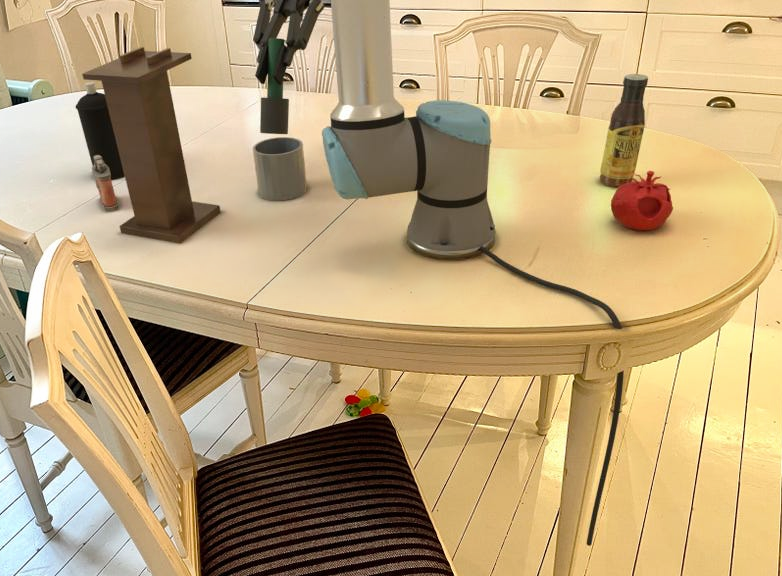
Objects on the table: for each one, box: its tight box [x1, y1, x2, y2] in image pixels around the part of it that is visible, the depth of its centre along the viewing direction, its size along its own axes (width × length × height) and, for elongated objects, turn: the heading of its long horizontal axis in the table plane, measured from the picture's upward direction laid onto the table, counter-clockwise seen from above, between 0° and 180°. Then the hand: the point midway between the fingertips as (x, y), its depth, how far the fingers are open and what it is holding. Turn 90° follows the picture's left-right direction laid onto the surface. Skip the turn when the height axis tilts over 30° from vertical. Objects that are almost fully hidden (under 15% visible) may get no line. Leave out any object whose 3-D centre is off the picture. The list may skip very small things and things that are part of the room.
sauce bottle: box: [599, 73, 649, 188], centre depth 138 cm, size 6×6×20 cm
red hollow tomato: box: [610, 170, 674, 231], centre depth 127 cm, size 10×10×9 cm
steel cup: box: [252, 136, 308, 202], centre depth 150 cm, size 10×10×10 cm
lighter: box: [91, 155, 119, 212], centre depth 152 cm, size 8×3×10 cm, turn 22°
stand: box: [81, 46, 222, 244], centre depth 136 cm, size 15×14×31 cm
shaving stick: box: [259, 37, 290, 135], centre depth 141 cm, size 17×5×5 cm
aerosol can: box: [74, 81, 125, 181], centre depth 163 cm, size 8×8×20 cm
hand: (268, 79), depth 139 cm, fingers closed on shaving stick, 3 cm apart
